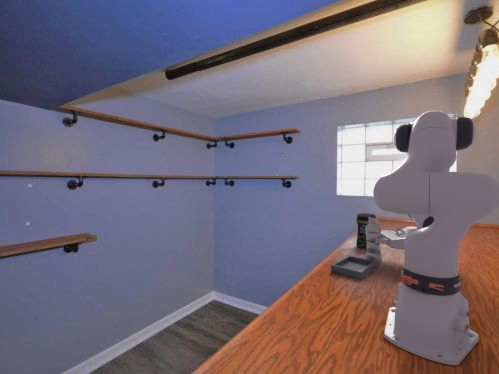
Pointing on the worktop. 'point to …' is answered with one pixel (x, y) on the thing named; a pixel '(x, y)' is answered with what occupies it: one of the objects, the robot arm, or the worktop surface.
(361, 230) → the coffee jar
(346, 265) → the serving tray
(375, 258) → the plastic bottle
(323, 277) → the worktop surface
